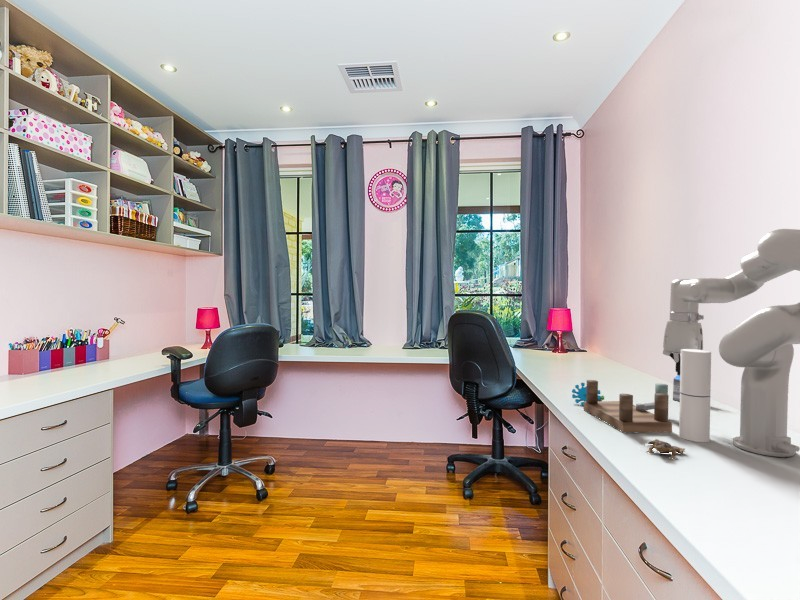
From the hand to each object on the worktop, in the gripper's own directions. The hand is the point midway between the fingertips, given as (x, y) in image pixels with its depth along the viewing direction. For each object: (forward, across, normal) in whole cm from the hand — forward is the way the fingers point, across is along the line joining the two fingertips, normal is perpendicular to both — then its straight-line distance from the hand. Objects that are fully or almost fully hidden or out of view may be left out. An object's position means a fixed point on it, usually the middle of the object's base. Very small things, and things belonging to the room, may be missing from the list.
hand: (681, 374), depth 136 cm
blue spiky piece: (+16, +29, +1) cm, 33 cm away
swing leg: (+12, +7, +3) cm, 14 cm away
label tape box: (+16, +5, -30) cm, 35 cm away
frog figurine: (+15, -5, +34) cm, 37 cm away
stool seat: (+15, +13, +12) cm, 23 cm away
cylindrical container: (+15, -7, +15) cm, 22 cm away
